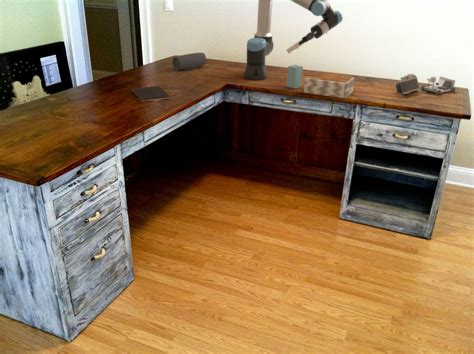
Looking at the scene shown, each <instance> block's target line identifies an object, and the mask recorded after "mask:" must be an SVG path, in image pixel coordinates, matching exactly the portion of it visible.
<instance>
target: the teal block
mask: <svg viewBox="0 0 474 354" xmlns="http://www.w3.org/2000/svg"><path fill="white" fill-rule="evenodd" d="M303 68H304V66H303V65H302V66H301V65H297V64H292V65H288V66H287V77H286V79H287V80H286V81H287V83H286V87H287V88H291V89H294V88H295V89H299V88H302V83H303ZM298 87H299V88H298Z"/></svg>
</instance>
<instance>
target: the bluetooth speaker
mask: <svg viewBox="0 0 474 354" xmlns="http://www.w3.org/2000/svg"><path fill="white" fill-rule="evenodd" d="M206 63H207V57H206V54H205V53H204V52H194V53H186V54H181V55H177V56H174V57H173V58H172V67H173V68H174V69H175V70H183V71H188V70H195V69H197V68H198V67H201V66H204V65H206Z"/></svg>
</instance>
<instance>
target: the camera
mask: <svg viewBox="0 0 474 354" xmlns="http://www.w3.org/2000/svg"><path fill="white" fill-rule="evenodd" d="M395 88H396V90H397V92H401V93H402V94H403V95H406V94H411V93H412V92H416V91H419V90H420V87H419V81H418V76H417V75H415V74H414V73H413V72H411V73H408V74H406V75H404V76H401V77H400V81H399V82H397V83H396V85H395ZM402 94H401V95H402Z"/></svg>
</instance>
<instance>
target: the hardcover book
mask: <svg viewBox="0 0 474 354" xmlns="http://www.w3.org/2000/svg"><path fill="white" fill-rule="evenodd" d="M131 90H132V91H133V92H134V93H135V94H136V96H137V97H138V98H139V99H140V100H141V101H144V100H157V99H165V98H170V99H171V95H169V94H168V93H167V92H166V91H165V90H164V89H162V87H160V86H159V85H156V86H147V87H138V88H131ZM131 90H130V91H131Z"/></svg>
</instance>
